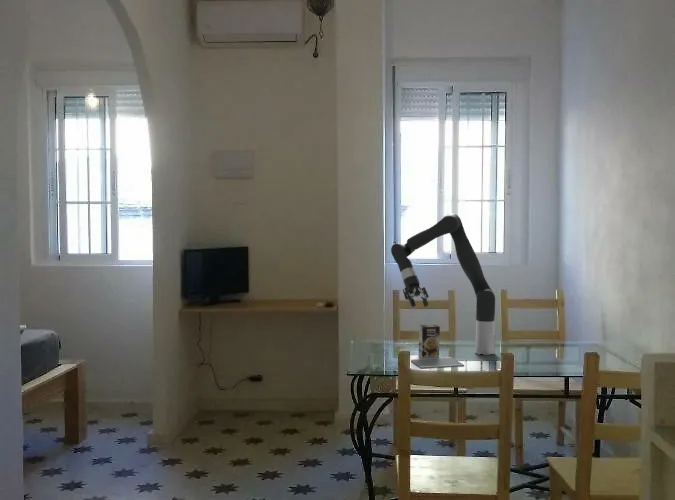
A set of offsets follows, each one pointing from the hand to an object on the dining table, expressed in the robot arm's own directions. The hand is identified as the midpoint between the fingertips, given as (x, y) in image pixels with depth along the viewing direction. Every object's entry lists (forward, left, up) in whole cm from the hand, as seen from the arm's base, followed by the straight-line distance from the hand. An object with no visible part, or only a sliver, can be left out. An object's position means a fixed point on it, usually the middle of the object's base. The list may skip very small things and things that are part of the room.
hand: (420, 306), depth 393 cm
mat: (-1, +22, -24) cm, 33 cm away
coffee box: (-2, +9, -25) cm, 26 cm away
